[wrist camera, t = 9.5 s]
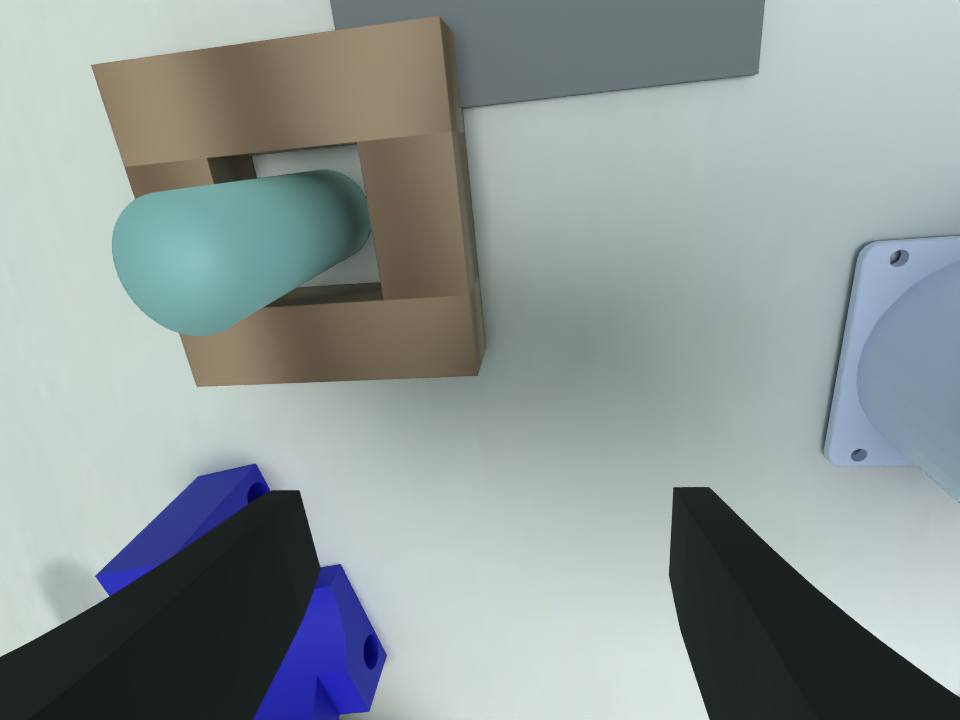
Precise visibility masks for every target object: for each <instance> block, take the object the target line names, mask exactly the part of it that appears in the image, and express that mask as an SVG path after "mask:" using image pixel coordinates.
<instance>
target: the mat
mask: <svg viewBox="0 0 960 720" xmlns="http://www.w3.org/2000/svg"><path fill="white" fill-rule="evenodd" d="M330 2H331V8H332V14H333V20H334V26H335V31H336V30H343V29H350V28H357V27H364V26H371V25H378V24H385V23H392V22H399V21H407V20H414V19H421V18H428V17H435V16H440V17H441V18H442V20H443V21H444V22H445V23H446V24H447V25H448V27H449V28H450V29H451V30H452V31H453V38H454V48H455V58H456V68H457V78H458V89H459V99H460V108H469V107H478V106H487V105H495V104H504V103H513V102H522V101H530V100H539V99H548V98H557V97H566V96H574V95H583V94H592V93H601V92H609V91H618V90H627V89H636V88H644V87H653V86H662V85H671V84H679V83H688V82H697V81H706V80H715V79H723V78H732V77H741V76H750V75H755V74H758V69H759V59H760V48H761V37H762V26H763V15H764V4H765V0H330Z"/></svg>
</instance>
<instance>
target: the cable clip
mask: <svg viewBox="0 0 960 720" xmlns="http://www.w3.org/2000/svg"><path fill="white" fill-rule="evenodd" d="M268 492H270V489H269V487H268V485H267V483H266V482H265V480H264V478H263V476H262V474H261V472H260V470H259V468H258V467H257V465H256V464H252V465H247V466H243V467H238V468H234V469H230V470H225V471H221V472H216V473H212V474H207V475H203V476H198V477H197V478H196V479H195V480H194V481H193V482H192V483H191V484H190V485H189V486H188V487H187V488H186V489H185V490H184V491H183V492H182V493H181V494H180V495H179V496H178V497H177V498H176V499H174V500H173V501H172V502H171V503H170V504H169V505H168V506H167V507H166V508H165V509H164V510H163V511H162V512H161V513H160V514H159V515H158V516H157V517H156V518H155V519H154V520H153V521H152V522H151V523H150V524H149V525H148V526H147V527H145V528H144V529H143V530H142V531H141V532H140V533H139V534H138V535H137V536H136V537H135V538H134V539H133V540H132V541H131V542H130V543H129V544H128V545H127V546H126V547H125V548H124V549H123V550H122V551H121V552H120V553H119V554H118V555H116V556H115V557H114V558H113V559H112V560H111V561H110V562H109V563H108V564H107V565H106V566H105V567H104V568H103V569H102V570H101V571H100V572H99V573H98V574H97V575H96V576H95V577H96V578H97V579H98V581H99V582H100V584H101V585H102V586H103V588H104V589H105V591H106V592H107V593H108V595H109V596H111V595H113V594H114V593H116V592H117V591H119V590H121V589H122V588H124V587H125V586H127V585H128V584H130V583H131V582H133V581H135V580H136V579H138V578H139V577H141V576H142V575H144V574H146V573H147V572H149V571H150V570H152V569H153V568H155V567H156V566H158V565H160V564H161V563H163V562H164V561H166V560H167V559H169V558H170V557H172V556H173V555H175V554H176V553H178V552H179V551H181V550H182V549H184V548H185V547H187V546H188V545H190V544H191V543H192V542H194V541H195V540H197V539H198V538H200V537H201V536H203V535H204V534H206V533H207V532H209V531H210V530H212V529H213V528H214V527H216V526H217V525H219V524H220V523H222V522H223V521H225V520H226V519H228V518H229V517H230V516H232V515H233V514H235V513H236V512H238V511H239V510H241V509H242V508H244V507H245V506H247V505H248V504H250V503H251V502H253V501H255V500H256V499H258V498H259V497H261V496H263V495H264V494H266V493H268ZM386 656H387V655H386V653H385V651H384V649H383V647H382V645H381V643H380V641H379V639H378V637H377V635H376V633H375V631H374V629H373V627H372V625H371V623H370V621H369V619H368V617H367V615H366V613H365V611H364V609H363V607H362V605H361V603H360V602H359V600H358V598H357V596H356V594H355V592H354V590H353V588H352V586H351V584H350V582H349V580H348V578H347V576H346V574H345V572H344V570H343V568H342V566H341V564H339V565H333V566H327V567H321V571H320V574H319V576H318V579H317V582H316V585H315V588H314V591H313V594H312V597H311V600H310V603H309V605H308V608H307V611H306V613H305V616H304V619H303V621H302V623H301V625H300V627H299V629H298V631H297V633H296V635H295V637H294V639H293V641H292V643H291V646H290V648H289V650H288V652H287V654H286V656H285V658H284V660H283V662H282V664H281V666H280V668H279V669H278V671H277V673H276V675H275V677H274V679H273V681H272V683H271V685H270V687H269V689H268V691H267V693H266V695H265V697H264V699H263V701H262V703H261V705H260V707H259V709H258V711H257V713H256V715H255V717H254V719H253V720H338V718H339V716H340V714H350V713H360V712H369V711H370V708H371V705H372V701H373V698H374V695H375V692H376V688H377V685H378V682H379V679H380V675H381V672H382V669H383V666H384V663H385V659H386Z"/></svg>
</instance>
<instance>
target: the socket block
mask: <svg viewBox="0 0 960 720" xmlns="http://www.w3.org/2000/svg"><path fill="white" fill-rule="evenodd" d="M91 67H92V70H93V73H94V76H95V79H96V82H97V85H98V88H99V91H100V94H101V97H102V100H103V103H104V106H105V109H106V112H107V115H108V118H109V121H110V124H111V127H112V130H113V133H114V137H115V140H116V143H117V146H118V149H119V152H120V155H121V158H122V161H123V164H124V167H125V170H126V173H127V176H128V179H129V182H130V185H131V188H132V191H133V194H134V197H135V199H137V198H139V197H141V196H143V195H146V194H149V193H153V192H161V191H168V190H175V189H183V188H190V187H198V186H205V185H212V184H220V183H227V182H235V181H242V180H250V179H256V175H255V171H254V167H253V162H252V158H251V156H252V155H261V154H270V153H280V152H289V151H298V150H308V149H317V148H326V147H336V146H345V145H354V144H357V145H358V151H359V157H360V163H361V169H362V175H363V181H364V187H365V193H366V198H367V204H368V210H369V216H370V222H371V228H372V234H373V240H374V246H375V252H376V257H377V263H378V269H379V275H380V281H381V282H377V283H362V284H347V285H332V286H317V287H303V288H295V289H293V290H292V291H290V292H288V293H287V294H285V295H283V296H282V297H280V298H278V299H276V300H275V301H273V302H271V303H270V304H268V305H266V306H265V307H263V308H261V309H260V310H258V311H256V312H255V313H253V314H251V315H249V316H248V317H246V318H244V319H243V320H241V321H239V322H238V323H236V324H234V325H233V326H231V327H229V328H227V329H226V330H224V331H222V332H219V333H216V334H212V335H208V336H191V335H186V334H181V333H179V334H180V337H181V340H182V343H183V346H184V349H185V353H186V356H187V359H188V362H189V365H190V368H191V371H192V374H193V377H194V380H195V383H196V386H197V387H203V386H228V385H254V384H279V383H305V382H330V381H356V380H381V379H407V378H432V377H458V376H478V372H479V369H480V365H481V362H482V359H483V355H484V352H485V348H486V346H485V335H484V325H483V315H482V305H481V294H480V284H479V274H478V264H477V253H476V243H475V233H474V223H473V213H472V202H471V192H470V182H469V172H468V161H467V151H466V141H465V131H464V120H463V110H462V108H460V99H459V89H458V78H457V68H456V58H455V48H454V38H453V31H452V30H451V29H450V28H449V27H448V25H447V24H446V23H445V22H444V21H443V20H442V18H441V17H440V16H435V17H428V18H421V19H414V20H407V21H399V22H392V23H385V24H378V25H371V26H364V27H357V28H350V29H343V30H336V31H328V32H321V33H314V34H307V35H300V36H293V37H286V38H279V39H272V40H265V41H257V42H250V43H243V44H236V45H229V46H222V47H215V48H208V49H201V50H193V51H186V52H179V53H172V54H165V55H158V56H151V57H144V58H137V59H130V60H122V61H115V62H108V63H101V64H94V65H91Z"/></svg>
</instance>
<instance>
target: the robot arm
mask: <svg viewBox="0 0 960 720" xmlns="http://www.w3.org/2000/svg"><path fill="white" fill-rule="evenodd" d="M898 250H900V251H901V257H900V259H899V260H898V261H897V262H895V263H893V264H890V258H891V255H892V254H893V253H894V252H896V251H898ZM857 449H861V450H860V452H859V453H858V454H856V455H851V454H852V452H853V451H855V450H857ZM824 455H825V457H826V458H827V460H828V461H829V462H830V463H831V464H833V465H835V466H840V467H846V466H918V467H919V468H920V469H922V470H923V471H924V472H925V473H926V474H927V475H928V476H930V477H931V478H932V479H933V480H934V481H935V482H936V483H937V484H939V485H940V486H941V487H942V488H943V489H944V490H945V491H947V492H948V493H949V494H950V495H951V496H952V497H953V498H954V499H956V500H957V501H958V502H959V503H960V236H945V237H931V238H916V239H902V240H887V241H876V242H872V243H870V244H868V245H867V246H865V247H864V248H863V249H862V250H861V251H860V253H859V255H858V258H857V263H856V269H855V275H854V280H853V286H852V292H851V298H850V303H849V309H848V315H847V320H846V326H845V332H844V338H843V343H842V349H841V355H840V361H839V366H838V372H837V378H836V383H835V389H834V395H833V401H832V406H831V412H830V418H829V423H828V429H827V435H826V441H825V446H824ZM320 571H321V568H320V565H319V561H318V557H317V554H316V550H315V546H314V543H313V539H312V535H311V531H310V528H309V524H308V520H307V517H306V513H305V509H304V505H303V502H302V498H301V494H300V491H299V490H276V491H270V492H268V493H266V494H264V495H263V496H261V497H259V498H258V499H256V500H255V501H253V502H251V503H250V504H248V505H247V506H245V507H244V508H242V509H241V510H239V511H238V512H236V513H235V514H233V515H232V516H230V517H229V518H228V519H226V520H225V521H223V522H222V523H220V524H219V525H217V526H216V527H214V528H213V529H212V530H210V531H209V532H207V533H206V534H204V535H203V536H201V537H200V538H198V539H197V540H195V541H194V542H192V543H191V544H190V545H188V546H187V547H185V548H184V549H182V550H181V551H179V552H178V553H176V554H175V555H173V556H172V557H170V558H169V559H167V560H166V561H164V562H163V563H161V564H160V565H158V566H156V567H155V568H153V569H152V570H150V571H149V572H147V573H146V574H144V575H142V576H141V577H139V578H138V579H136V580H135V581H133V582H131V583H130V584H128V585H127V586H125V587H124V588H122V589H121V590H119V591H117V592H116V593H114V594H113V595H111V596H110V597H108V598H106V599H105V600H103V601H101V602H100V603H98V604H96V605H95V606H93V607H91V608H90V609H88V610H86V611H84V612H83V613H81V614H79V615H78V616H76V617H74V618H72V619H71V620H69V621H67V622H65V623H63V624H62V625H60V626H58V627H56V628H54V629H53V630H51V631H49V632H47V633H45V634H44V635H42V636H40V637H38V638H36V639H34V640H33V641H31V642H29V643H27V644H25V645H23V646H21V647H19V648H17V649H15V650H13V651H11V652H9V653H7V654H5V655H3V656H1V657H0V720H253V719H254V717H255V715H256V713H257V711H258V709H259V707H260V705H261V703H262V701H263V699H264V697H265V695H266V693H267V691H268V689H269V687H270V685H271V683H272V681H273V679H274V677H275V675H276V673H277V671H278V669H279V668H280V666H281V664H282V662H283V660H284V658H285V656H286V654H287V652H288V650H289V648H290V646H291V643H292V641H293V639H294V637H295V635H296V633H297V631H298V629H299V627H300V625H301V623H302V621H303V619H304V616H305V613H306V611H307V608H308V605H309V603H310V600H311V597H312V594H313V591H314V588H315V585H316V582H317V579H318V576H319V574H320ZM669 578H670V583H671V588H672V592H673V597H674V602H675V607H676V612H677V616H678V621H679V626H680V630H681V634H682V637H683V640H684V643H685V646H686V649H687V652H688V655H689V658H690V661H691V665H692V668H693V671H694V674H695V677H696V680H697V683H698V686H699V689H700V692H701V695H702V698H703V701H704V704H705V707H706V710H707V713H708V716H709V719H710V720H960V697H958V696H957V695H955V694H954V693H952V692H951V691H949V690H948V689H946V688H945V687H944V686H942V685H941V684H939V683H938V682H936V681H935V680H934V679H932V678H931V677H930V676H928V675H927V674H925V673H924V672H923V671H921V670H920V669H919V668H917V667H916V666H914V665H913V664H912V663H910V662H909V661H908V660H906V659H905V658H904V657H902V656H901V655H899V654H898V653H897V652H895V651H894V650H893V649H891V648H890V647H889V646H887V645H886V644H884V643H883V642H882V641H880V640H879V639H878V638H877V637H875V636H874V635H873V634H871V633H870V632H869V631H868V630H866V629H865V628H864V627H862V626H861V625H860V624H859V623H857V622H856V621H855V620H854V619H852V618H851V617H850V616H849V615H848V614H846V613H845V612H844V611H843V610H842V609H840V608H839V607H838V606H837V605H836V604H834V603H833V602H832V601H831V600H829V599H828V598H827V597H826V596H825V595H823V594H822V593H821V592H820V591H819V590H818V589H816V588H815V587H814V586H813V585H812V584H811V583H809V582H808V581H807V580H806V579H805V578H804V577H803V576H802V575H801V574H799V573H798V572H797V571H796V570H795V569H794V568H793V567H792V566H791V565H790V564H788V563H787V562H786V561H785V560H784V559H783V558H782V557H781V556H780V555H779V554H778V553H776V552H775V551H774V550H773V549H772V548H771V547H770V546H769V545H768V544H767V543H766V542H765V541H764V540H763V539H762V538H761V537H760V536H759V535H757V534H756V533H755V532H754V531H753V530H752V529H751V528H750V527H749V526H748V525H747V524H746V523H745V522H744V521H743V520H742V519H741V518H740V517H739V516H738V515H737V514H736V513H735V512H734V511H733V510H732V509H731V508H730V507H729V506H728V505H727V504H726V503H725V502H724V501H723V500H722V499H721V498H720V497H719V496H718V495H717V494H716V493H715V492H714V491H713V490H712V489H711V488H709V487H673V507H672V526H671V545H670V565H669Z"/></svg>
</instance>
